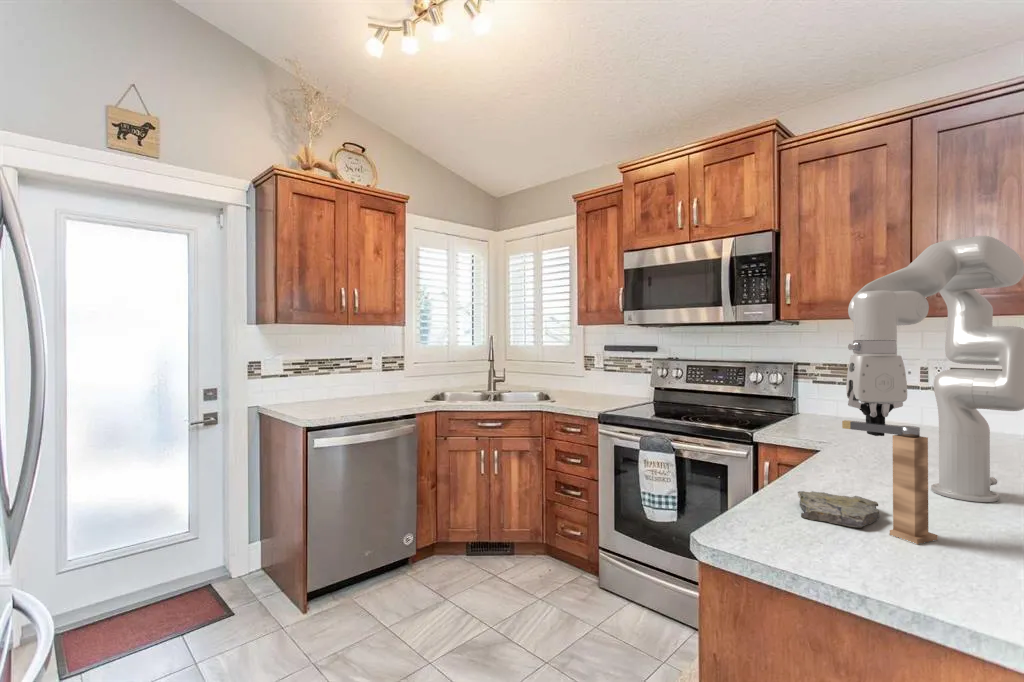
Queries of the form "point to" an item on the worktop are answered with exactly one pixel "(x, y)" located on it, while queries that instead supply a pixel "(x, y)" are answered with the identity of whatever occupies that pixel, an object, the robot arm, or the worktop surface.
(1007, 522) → the worktop surface
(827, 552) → the worktop surface
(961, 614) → the worktop surface
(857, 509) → the stone
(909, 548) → the worktop surface
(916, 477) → the post
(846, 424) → the latch bar
